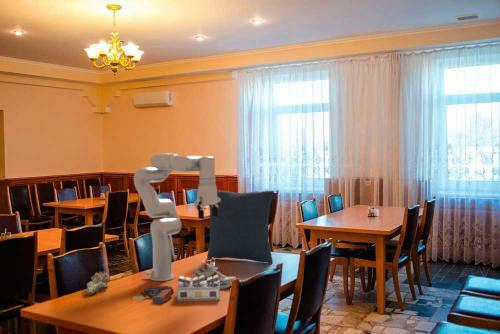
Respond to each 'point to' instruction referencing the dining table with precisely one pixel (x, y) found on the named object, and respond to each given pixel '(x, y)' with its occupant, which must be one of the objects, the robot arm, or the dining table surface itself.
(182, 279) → the switch
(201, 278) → the switch
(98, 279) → the skull
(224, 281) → the athletic shoe
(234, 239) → the pillow
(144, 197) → the robot arm
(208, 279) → the switch
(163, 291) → the toy gun
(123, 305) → the dining table surface
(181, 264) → the dining table surface
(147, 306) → the dining table surface
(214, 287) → the switch unit
